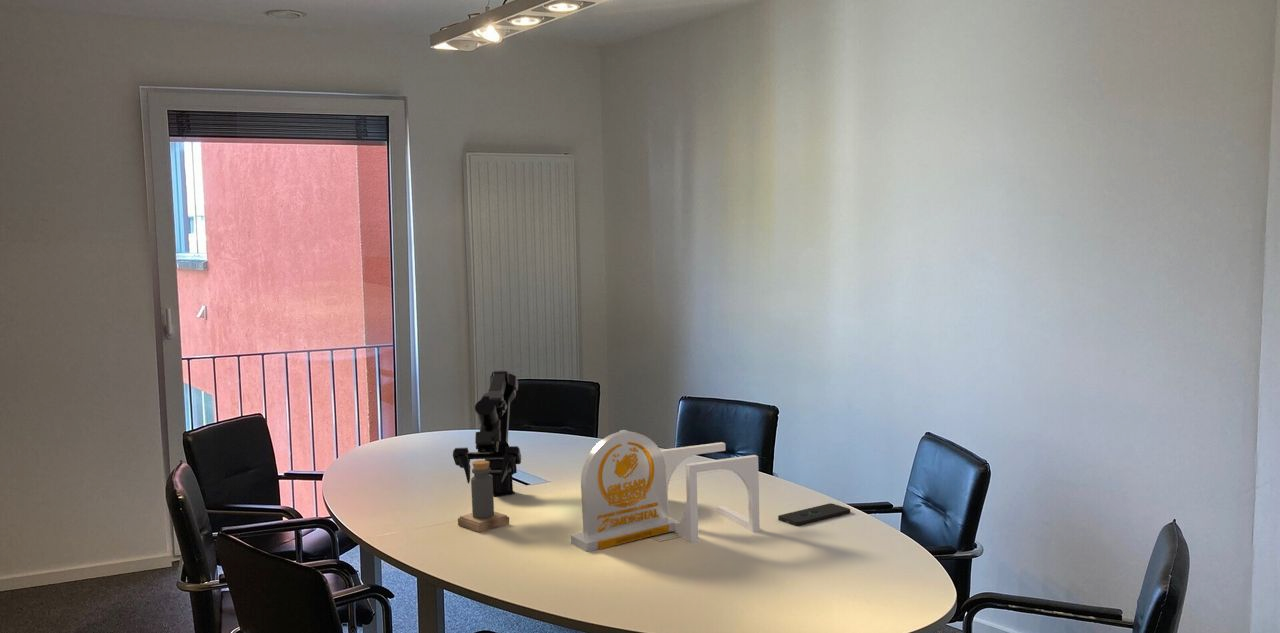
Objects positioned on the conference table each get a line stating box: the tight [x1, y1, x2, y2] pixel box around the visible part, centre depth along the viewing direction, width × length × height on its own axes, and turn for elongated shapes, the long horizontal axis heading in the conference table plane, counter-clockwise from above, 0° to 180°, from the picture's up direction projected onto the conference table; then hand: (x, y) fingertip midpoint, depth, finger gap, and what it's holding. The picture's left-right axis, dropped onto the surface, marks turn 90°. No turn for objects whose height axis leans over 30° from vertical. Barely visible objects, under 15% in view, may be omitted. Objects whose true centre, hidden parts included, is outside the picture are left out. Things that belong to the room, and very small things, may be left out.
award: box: [570, 430, 680, 553], centre depth 258 cm, size 28×9×28 cm, turn 122°
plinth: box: [457, 510, 510, 533], centre depth 274 cm, size 10×10×2 cm
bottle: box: [470, 459, 495, 519], centre depth 274 cm, size 6×6×15 cm
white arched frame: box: [660, 441, 761, 543], centre depth 266 cm, size 20×20×20 cm
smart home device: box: [777, 503, 851, 527], centre depth 273 cm, size 8×2×20 cm
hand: (484, 482), depth 278 cm, fingers open, 9 cm apart
